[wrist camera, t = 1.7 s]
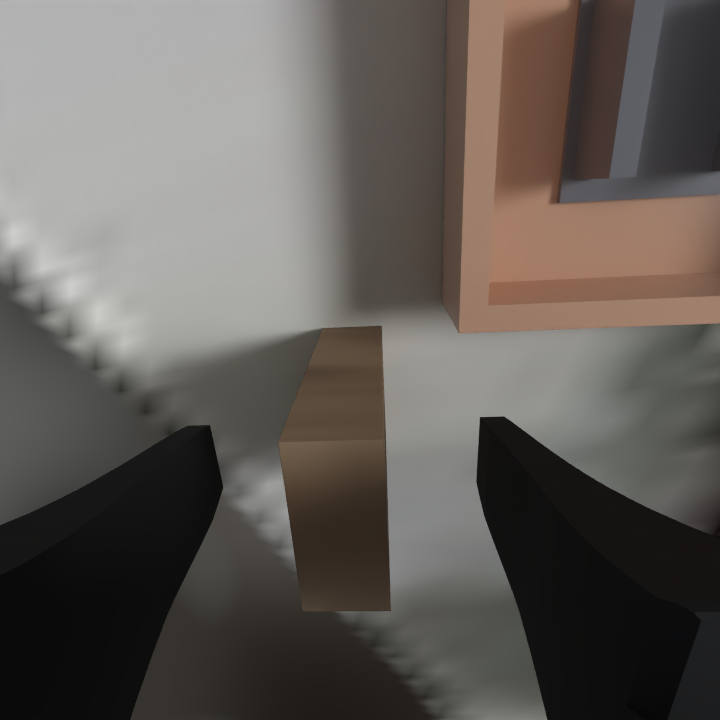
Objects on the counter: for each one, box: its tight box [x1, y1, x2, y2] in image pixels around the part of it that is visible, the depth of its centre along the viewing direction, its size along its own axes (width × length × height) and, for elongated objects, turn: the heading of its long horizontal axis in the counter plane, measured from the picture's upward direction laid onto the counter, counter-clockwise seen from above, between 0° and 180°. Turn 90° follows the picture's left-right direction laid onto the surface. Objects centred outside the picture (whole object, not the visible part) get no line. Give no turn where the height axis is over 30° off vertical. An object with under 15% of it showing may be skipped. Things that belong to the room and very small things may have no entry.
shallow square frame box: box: [442, 0, 720, 333], centre depth 10 cm, size 11×11×3 cm
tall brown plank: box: [278, 326, 391, 611], centre depth 12 cm, size 4×2×7 cm, turn 3°
